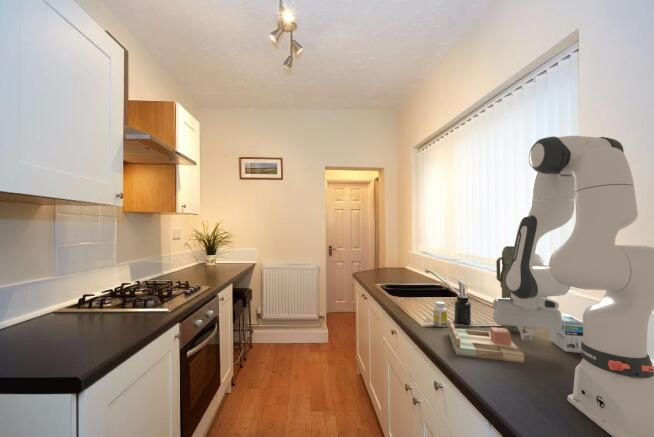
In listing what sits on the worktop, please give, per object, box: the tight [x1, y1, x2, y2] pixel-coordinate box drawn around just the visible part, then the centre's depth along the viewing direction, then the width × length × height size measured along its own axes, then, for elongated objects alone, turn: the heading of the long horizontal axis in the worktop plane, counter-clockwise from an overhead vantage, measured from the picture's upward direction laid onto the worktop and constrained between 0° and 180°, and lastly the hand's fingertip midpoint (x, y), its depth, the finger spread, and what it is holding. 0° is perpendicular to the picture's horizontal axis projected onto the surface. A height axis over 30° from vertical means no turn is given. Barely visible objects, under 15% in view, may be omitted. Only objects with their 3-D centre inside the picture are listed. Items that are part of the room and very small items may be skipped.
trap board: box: [448, 320, 525, 364], centre depth 106 cm, size 20×20×6 cm
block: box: [490, 326, 512, 345], centre depth 105 cm, size 5×5×4 cm
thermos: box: [495, 245, 526, 334], centre depth 125 cm, size 9×12×35 cm
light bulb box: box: [549, 313, 583, 354], centre depth 107 cm, size 11×7×11 cm, turn 168°
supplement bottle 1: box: [433, 301, 448, 328], centre depth 130 cm, size 5×5×10 cm
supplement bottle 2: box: [453, 294, 472, 326], centre depth 133 cm, size 7×7×12 cm
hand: (526, 339), depth 103 cm, fingers closed
